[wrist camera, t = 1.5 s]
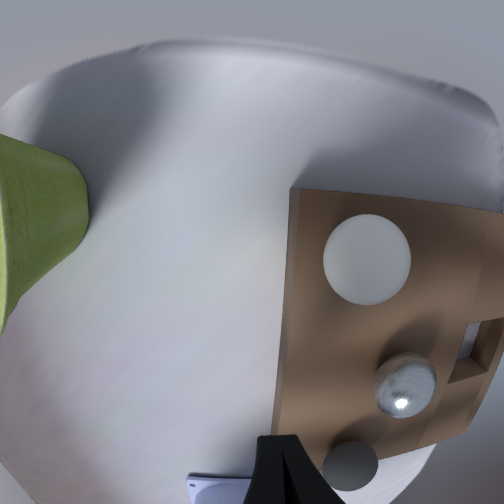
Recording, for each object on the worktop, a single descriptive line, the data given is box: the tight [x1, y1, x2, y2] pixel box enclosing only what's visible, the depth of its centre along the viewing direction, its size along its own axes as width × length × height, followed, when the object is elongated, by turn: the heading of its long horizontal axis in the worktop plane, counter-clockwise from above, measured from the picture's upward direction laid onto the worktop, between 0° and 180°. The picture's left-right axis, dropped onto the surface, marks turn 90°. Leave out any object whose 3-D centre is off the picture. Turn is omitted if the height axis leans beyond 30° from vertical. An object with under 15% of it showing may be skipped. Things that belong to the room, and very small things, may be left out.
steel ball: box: [372, 352, 437, 418], centre depth 12 cm, size 4×4×4 cm
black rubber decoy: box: [322, 441, 378, 491], centre depth 14 cm, size 4×4×4 cm
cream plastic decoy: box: [323, 214, 411, 305], centre depth 11 cm, size 4×4×4 cm
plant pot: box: [0, 134, 89, 338], centre depth 10 cm, size 9×9×9 cm
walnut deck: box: [271, 188, 504, 471], centre depth 16 cm, size 18×17×2 cm
